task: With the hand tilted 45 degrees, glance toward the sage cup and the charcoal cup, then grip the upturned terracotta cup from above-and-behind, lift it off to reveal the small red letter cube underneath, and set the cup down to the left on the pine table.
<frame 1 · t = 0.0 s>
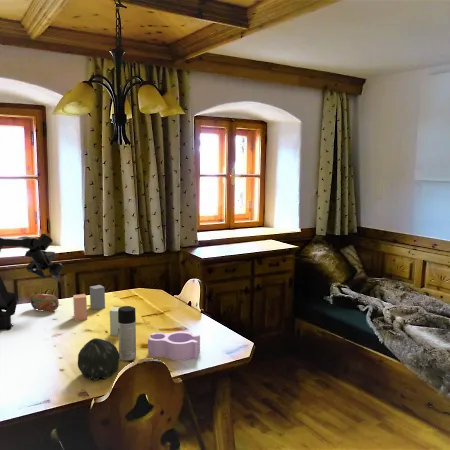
hand: (51, 278, 239), 15 cm above the table, tool tilted 35°, fingers open, 9 cm apart
tin: (45, 310, 236), on the table
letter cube: (80, 315, 225), in the terracotta cup
sage cup: (118, 332, 207), on the table
terracotta cup: (80, 318, 225), on the table
charcoal cup: (97, 307, 240), on the table
clip: (174, 354, 186), on the table
squash: (99, 374, 168), on the table
spray can: (127, 358, 182), on the table
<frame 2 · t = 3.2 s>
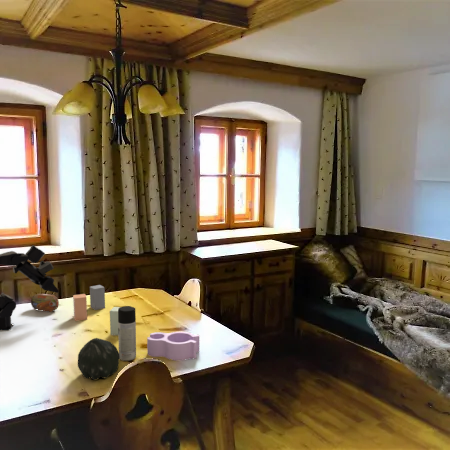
hand: (54, 289, 225), 14 cm above the table, tool tilted 45°, fingers open, 9 cm apart
nothing on the table moved.
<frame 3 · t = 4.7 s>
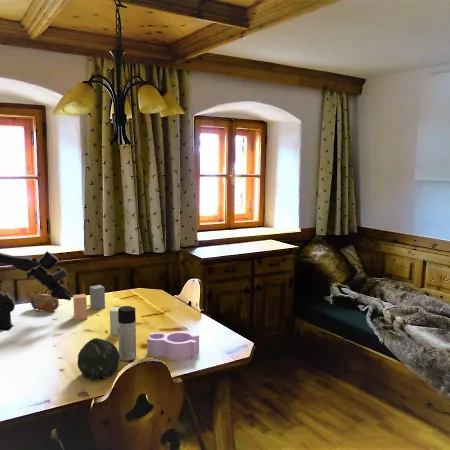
hand: (69, 296, 222), 11 cm above the table, tool tilted 45°, fingers open, 9 cm apart
nothing on the table moved.
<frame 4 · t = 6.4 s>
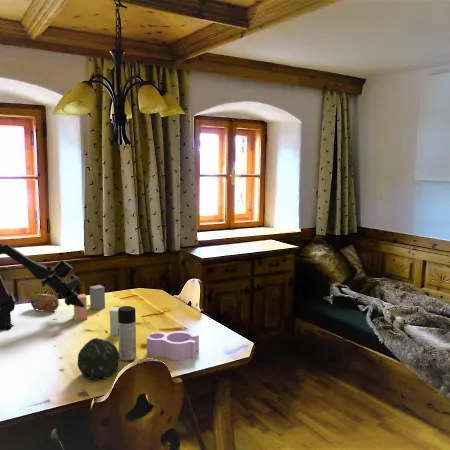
hand: (83, 304, 225), 7 cm above the table, tool tilted 45°, fingers closed on terracotta cup, 5 cm apart
terracotta cup: (80, 318, 225), on the table, touching gripper
everything else where it was.
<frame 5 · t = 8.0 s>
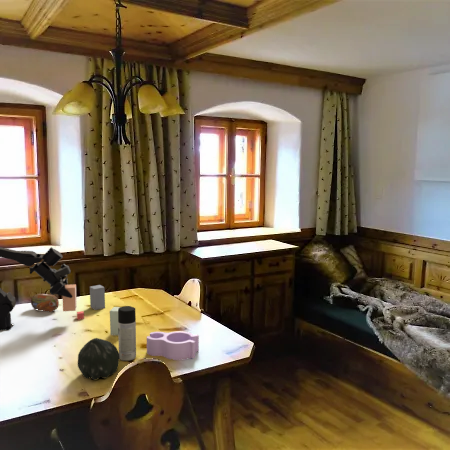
hand: (72, 295, 217), 13 cm above the table, tool tilted 45°, fingers closed on terracotta cup, 5 cm apart
terracotta cup: (69, 309, 217), point 7 cm above the table, touching gripper
everything else where it was.
when the fingers open (8 cm above the table, at t = 9.9 s): terracotta cup drops 1 cm, on the table.
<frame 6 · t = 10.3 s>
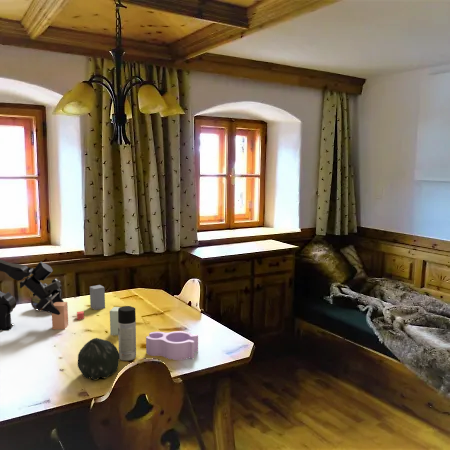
hand: (62, 310, 212), 8 cm above the table, tool tilted 45°, fingers open, 9 cm apart
terracotta cup: (60, 327, 213), on the table
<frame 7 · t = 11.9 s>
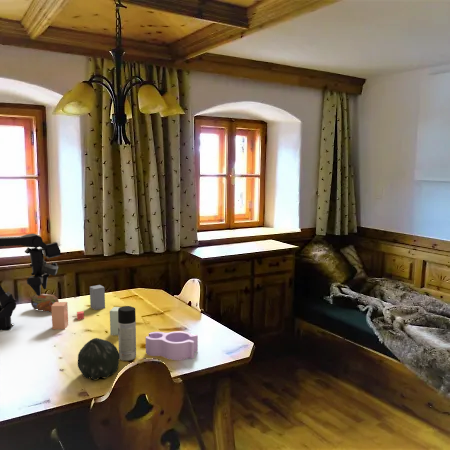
hand: (42, 292, 221), 13 cm above the table, tool pointing down, fingers open, 9 cm apart
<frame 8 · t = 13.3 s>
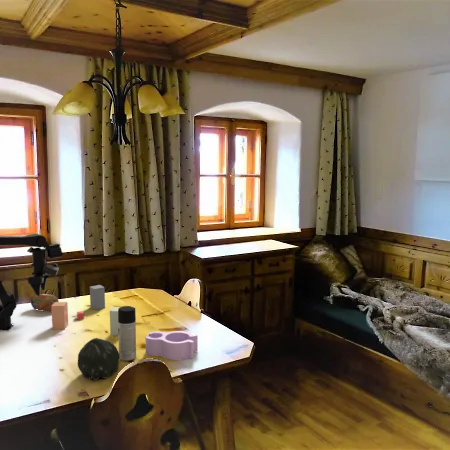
hand: (40, 292, 222), 13 cm above the table, tool pointing down, fingers open, 9 cm apart
at the end: terracotta cup inside the target area (0.0 cm from its centre), on the table; terracotta cup tilted 0°; terracotta cup moved 13.0 cm from its start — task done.
